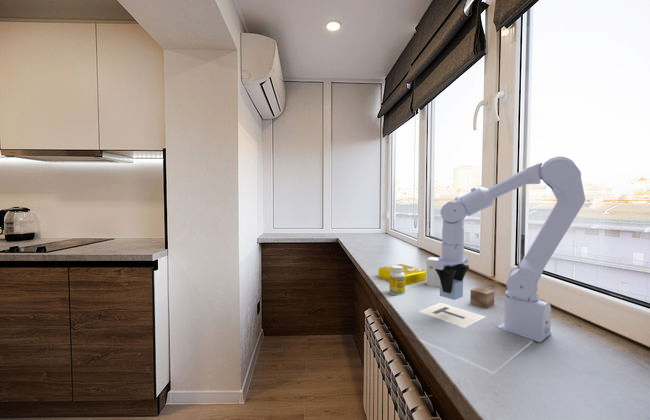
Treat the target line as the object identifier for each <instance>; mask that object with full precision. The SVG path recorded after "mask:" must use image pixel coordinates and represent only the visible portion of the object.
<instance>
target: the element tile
mask: <svg viewBox="0 0 650 420" xmlns="http://www.w3.org/2000/svg"><path fill="white" fill-rule="evenodd" d="M396 265H397V266H402V267H403V271H402V272H403V273H404V274H405V286H410V285H413V284H418V283H421V282H425V281H426V282H427V269H421V268H419V267H415V266H410V265H406V264H401V263H398V264H392V265H388V266H382V267H379V268H378V274H377V275H378V277H377V278H378V279H381V280H384V281H388V282H389V274H390V272H392V270H391V267H392V266H396Z"/></svg>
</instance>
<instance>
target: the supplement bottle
mask: <svg viewBox="0 0 650 420" xmlns="http://www.w3.org/2000/svg"><path fill="white" fill-rule="evenodd" d="M395 265H396V266H392V267H391V270H392V272H390V274H389V281H388V282H389V285H388V286H389V289H388V290H389V294H390V295H392V296H398V295H399V296H400V295H404V294H405V291H406V290H405V289H406V285H405V274H404V273H403V272H402V271H403V267H402V266H397V265H398V264H395Z"/></svg>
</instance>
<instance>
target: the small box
mask: <svg viewBox="0 0 650 420" xmlns="http://www.w3.org/2000/svg"><path fill="white" fill-rule="evenodd" d="M438 260H439V259H438V257H435V256H429V257H427V259H426V286H432V287H437V288H439V289H440V278H439V276H438V274H437V272H436V270H435V262H436V261H438Z"/></svg>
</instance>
